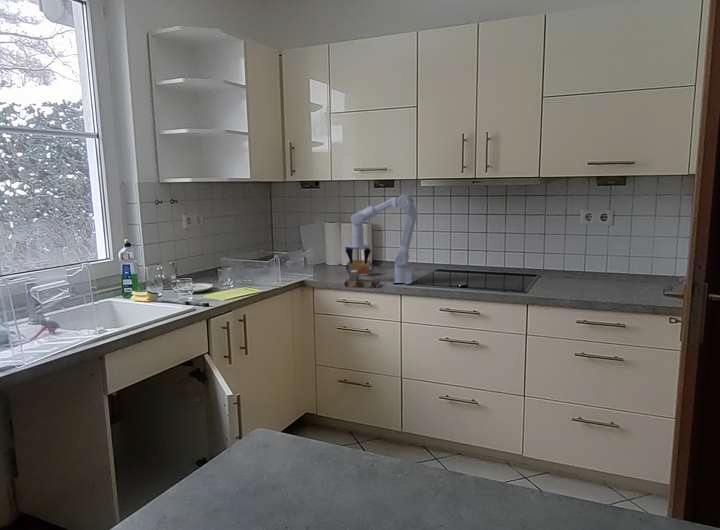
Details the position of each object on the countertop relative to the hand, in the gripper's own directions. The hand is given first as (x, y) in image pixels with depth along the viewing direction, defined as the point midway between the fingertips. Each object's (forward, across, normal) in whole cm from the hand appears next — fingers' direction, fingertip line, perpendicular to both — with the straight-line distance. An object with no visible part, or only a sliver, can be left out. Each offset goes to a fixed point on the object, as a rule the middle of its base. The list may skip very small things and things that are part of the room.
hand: (358, 263), depth 264 cm
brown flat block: (+10, +4, -8) cm, 13 cm away
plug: (+10, 0, -8) cm, 12 cm away
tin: (+10, -5, +18) cm, 21 cm away
